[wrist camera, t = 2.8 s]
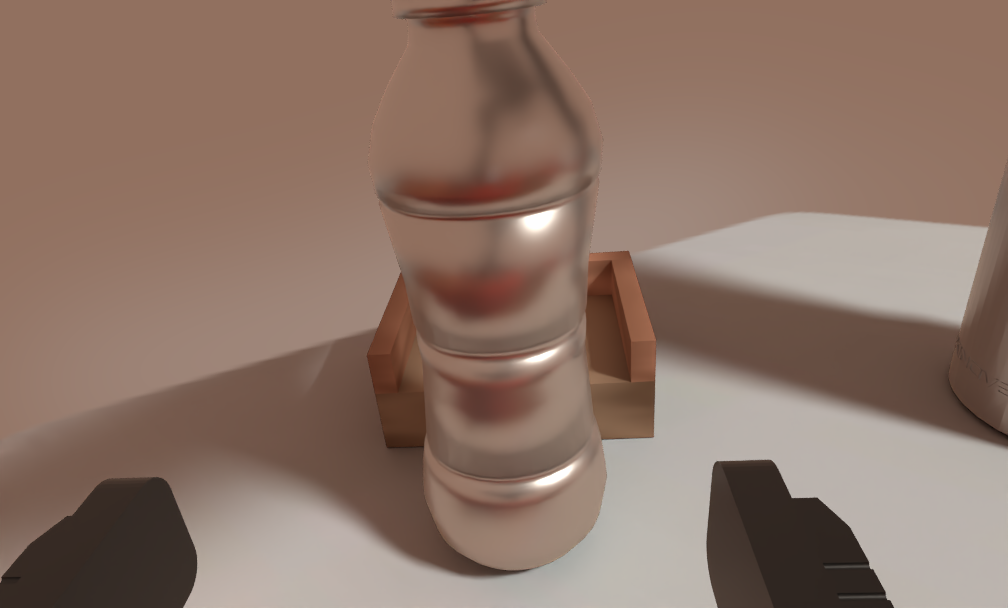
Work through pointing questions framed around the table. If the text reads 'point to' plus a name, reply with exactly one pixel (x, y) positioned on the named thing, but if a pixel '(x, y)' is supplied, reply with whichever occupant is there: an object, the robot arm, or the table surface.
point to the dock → (609, 348)
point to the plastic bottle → (495, 273)
